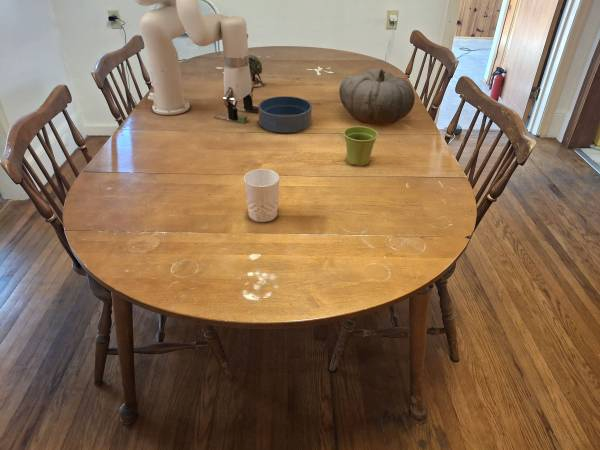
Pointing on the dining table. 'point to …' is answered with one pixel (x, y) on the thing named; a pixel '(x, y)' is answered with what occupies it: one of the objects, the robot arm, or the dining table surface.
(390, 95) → the gourd
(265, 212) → the white cup
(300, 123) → the bowl
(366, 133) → the plant pot
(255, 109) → the black knife
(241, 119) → the green knife
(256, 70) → the grey tall irregular piece
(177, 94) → the robot arm
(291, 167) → the dining table surface
